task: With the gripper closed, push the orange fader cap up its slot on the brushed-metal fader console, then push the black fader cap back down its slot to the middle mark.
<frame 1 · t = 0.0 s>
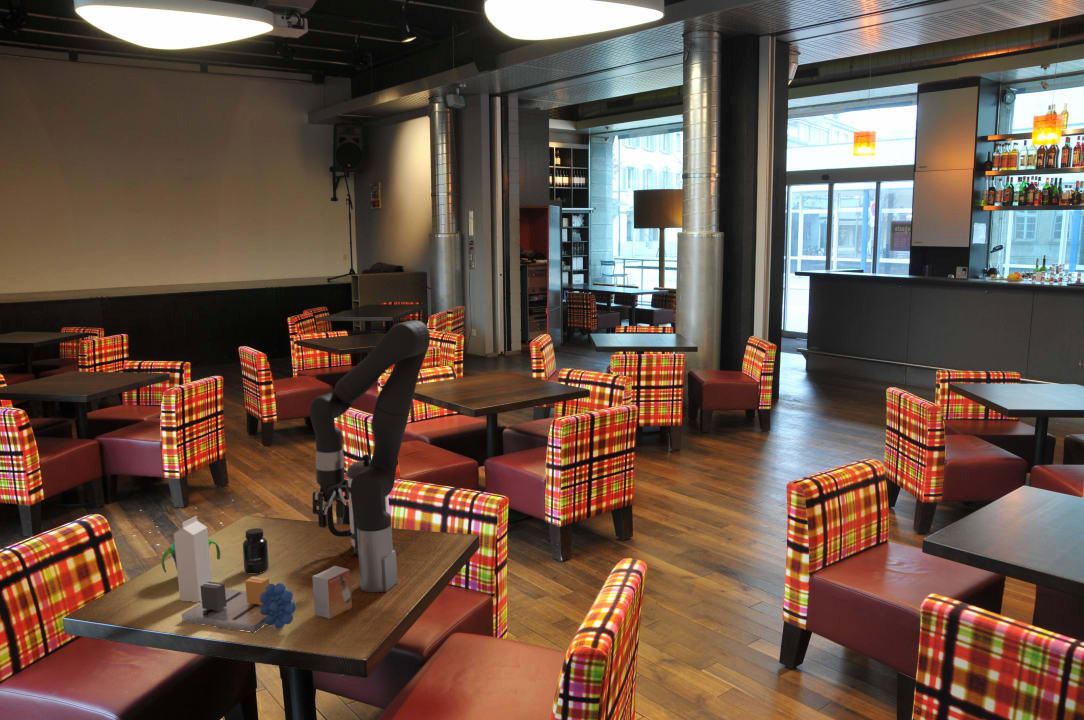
hand: (331, 521, 229), 17 cm above the table, tool pointing down, fingers open, 8 cm apart
supplement bottle: (256, 570, 241), on the table
small box: (333, 611, 213), on the table
orange fader: (258, 590, 213), point 5 cm above the table, slide at 2.0 cm
grapes: (281, 627, 205), on the table, touching console
console: (239, 613, 213), on the table
black fader: (213, 595, 211), point 5 cm above the table, slide at 8.0 cm
coffee press: (367, 550, 255), on the table
milk: (196, 597, 223), on the table
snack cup: (193, 577, 237), on the table
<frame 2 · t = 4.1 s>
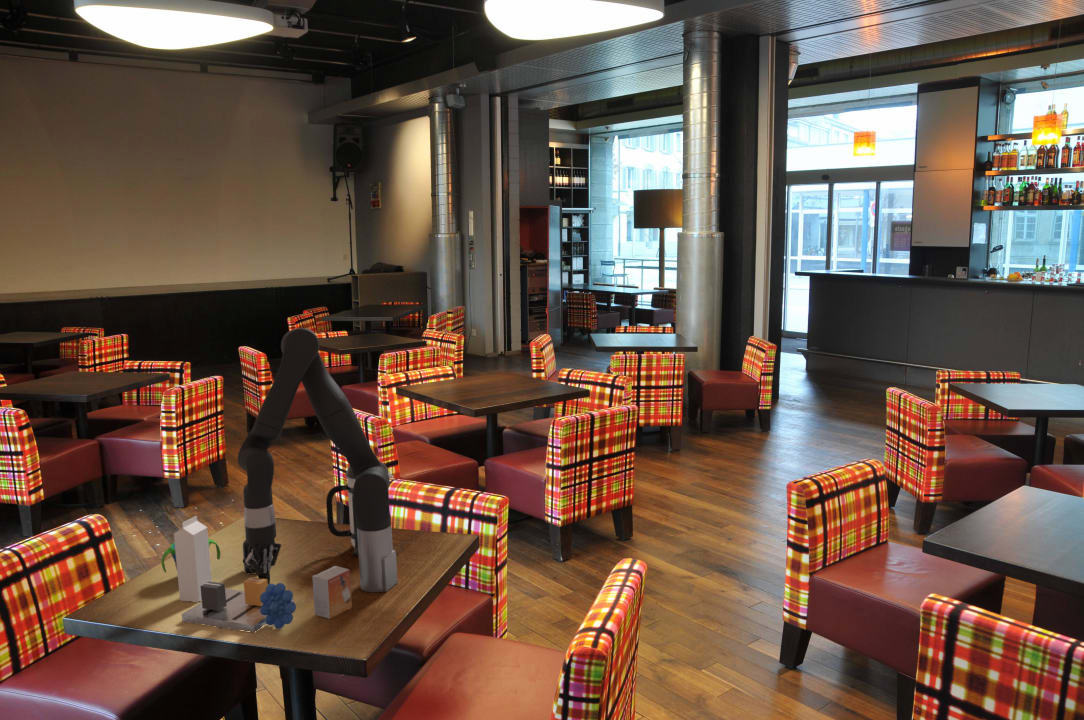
hand: (264, 584, 216), 6 cm above the table, tool pointing down, fingers closed
orange fader: (256, 591, 213), point 6 cm above the table, slide at 2.7 cm, touching gripper
everything else where it was.
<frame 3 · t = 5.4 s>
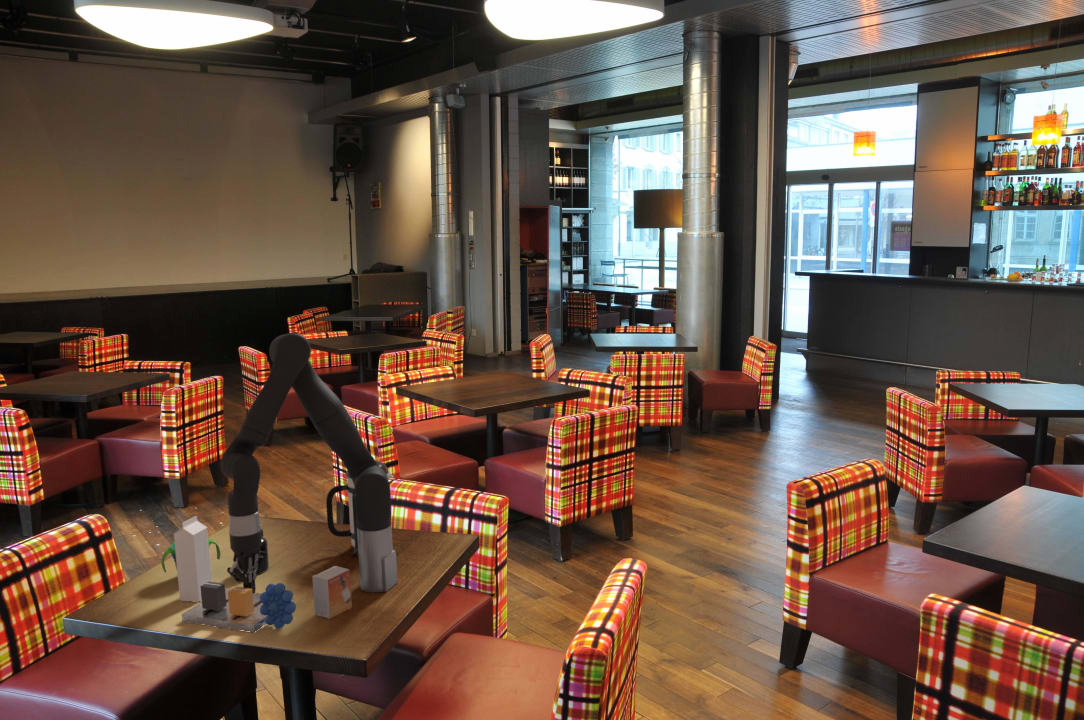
hand: (250, 594, 211), 6 cm above the table, tool pointing down, fingers closed
orange fader: (240, 601, 207), point 6 cm above the table, slide at 8.7 cm, touching gripper
everything else where it was.
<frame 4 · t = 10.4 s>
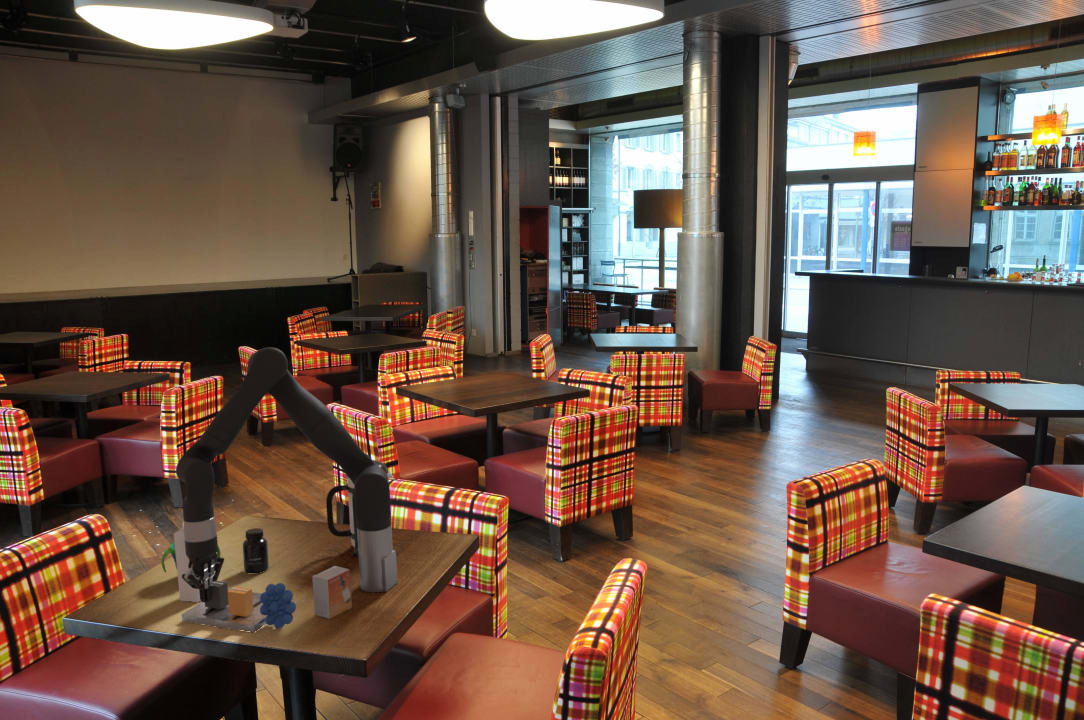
hand: (206, 601, 208), 5 cm above the table, tool pointing down, fingers closed
orange fader: (240, 601, 207), point 5 cm above the table, slide at 8.7 cm
black fader: (216, 594, 212), point 5 cm above the table, slide at 7.0 cm, touching gripper
everything else where it was.
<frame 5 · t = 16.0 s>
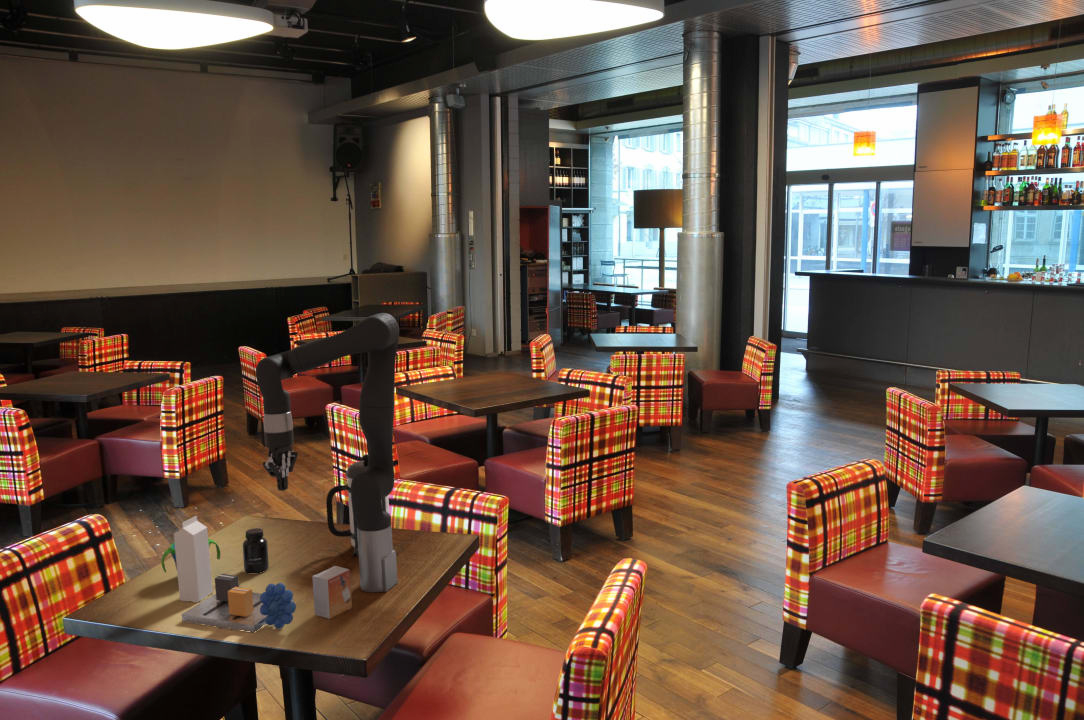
hand: (283, 489, 227), 27 cm above the table, tool pointing down, fingers closed
black fader: (227, 587, 215), point 6 cm above the table, slide at 2.9 cm
everything else where it was.
at the end: orange fader slide at 8.7 cm; black fader slide at 2.9 cm; black fader touching nothing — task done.
